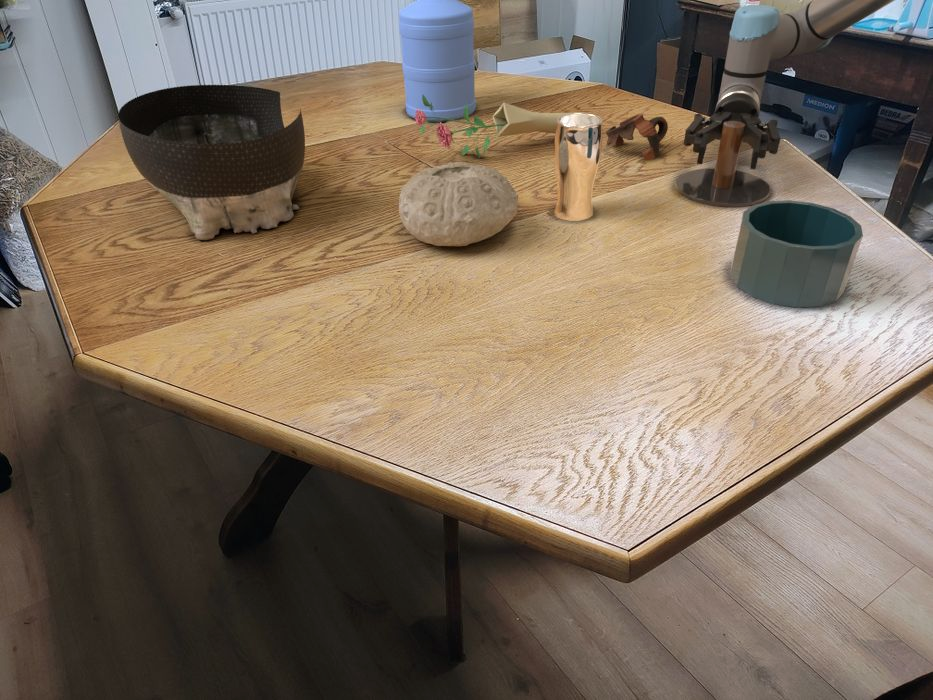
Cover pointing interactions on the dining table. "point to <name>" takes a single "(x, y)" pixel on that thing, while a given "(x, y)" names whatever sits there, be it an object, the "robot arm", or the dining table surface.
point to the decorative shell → (457, 204)
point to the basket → (217, 154)
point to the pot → (795, 253)
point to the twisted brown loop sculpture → (645, 130)
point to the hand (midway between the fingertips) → (727, 158)
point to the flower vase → (505, 121)
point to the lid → (724, 176)
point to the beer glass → (576, 163)
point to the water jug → (438, 58)
